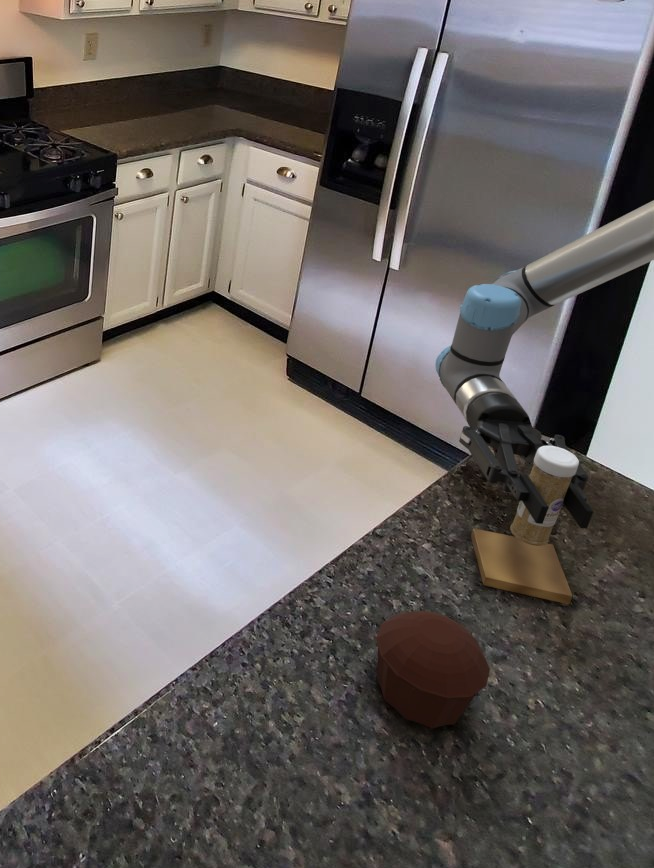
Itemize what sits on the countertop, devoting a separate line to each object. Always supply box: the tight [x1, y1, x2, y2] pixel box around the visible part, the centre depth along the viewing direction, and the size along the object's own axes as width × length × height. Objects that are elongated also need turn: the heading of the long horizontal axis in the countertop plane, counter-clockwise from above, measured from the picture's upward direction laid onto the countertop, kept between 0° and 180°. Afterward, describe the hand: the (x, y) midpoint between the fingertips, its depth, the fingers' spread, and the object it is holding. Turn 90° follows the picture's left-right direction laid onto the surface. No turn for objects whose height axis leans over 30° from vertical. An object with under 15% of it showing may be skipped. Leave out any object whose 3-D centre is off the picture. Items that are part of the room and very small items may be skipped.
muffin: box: [375, 610, 491, 729], centre depth 91 cm, size 12×11×10 cm
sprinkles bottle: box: [509, 446, 580, 546], centre depth 105 cm, size 5×5×13 cm
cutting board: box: [470, 527, 573, 605], centre depth 110 cm, size 10×10×2 cm
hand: (564, 517), depth 99 cm, fingers closed on sprinkles bottle, 4 cm apart
